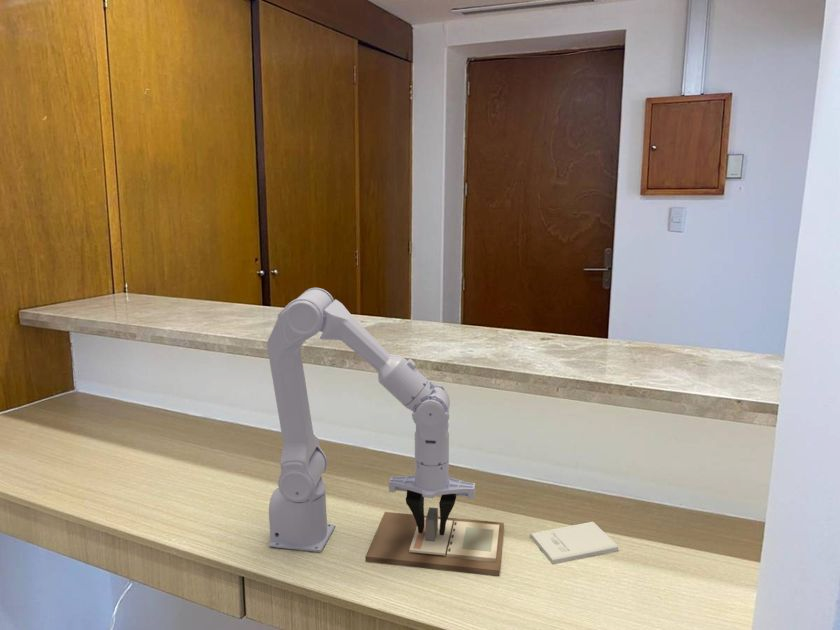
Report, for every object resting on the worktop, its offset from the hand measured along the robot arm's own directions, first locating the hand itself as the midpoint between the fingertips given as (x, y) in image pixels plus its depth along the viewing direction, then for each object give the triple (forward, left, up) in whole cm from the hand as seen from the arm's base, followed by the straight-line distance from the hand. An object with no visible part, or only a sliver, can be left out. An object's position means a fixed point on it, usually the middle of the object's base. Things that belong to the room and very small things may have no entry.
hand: (431, 530), depth 110 cm
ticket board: (+1, 0, -2) cm, 3 cm away
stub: (0, 0, -1) cm, 1 cm away
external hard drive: (+24, +4, -3) cm, 25 cm away
